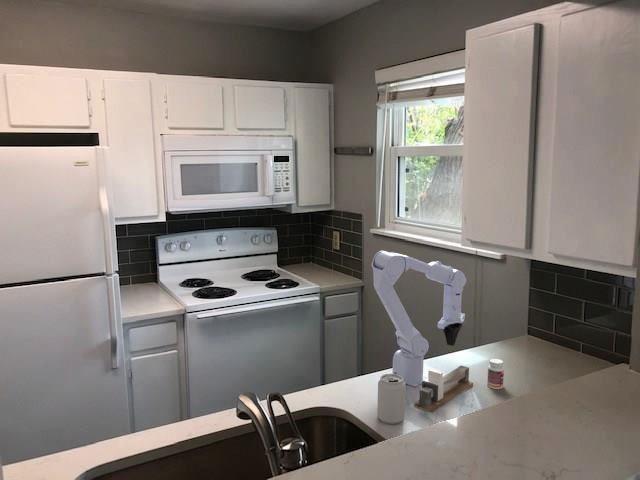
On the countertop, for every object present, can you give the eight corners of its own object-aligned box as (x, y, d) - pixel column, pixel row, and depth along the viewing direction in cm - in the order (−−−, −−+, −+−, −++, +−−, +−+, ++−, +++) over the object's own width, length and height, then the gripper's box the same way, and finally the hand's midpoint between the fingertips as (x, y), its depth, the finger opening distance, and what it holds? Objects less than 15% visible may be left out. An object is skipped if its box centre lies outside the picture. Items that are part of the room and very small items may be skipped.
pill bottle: (504, 390, 165) (505, 364, 163) (488, 388, 166) (489, 363, 164) (502, 383, 169) (503, 358, 168) (486, 382, 170) (487, 357, 169)
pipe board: (414, 405, 154) (414, 388, 153) (455, 379, 172) (456, 364, 171) (432, 412, 150) (432, 394, 149) (473, 385, 168) (473, 368, 167)
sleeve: (423, 396, 156) (424, 371, 155) (428, 392, 158) (429, 368, 157) (437, 401, 153) (438, 376, 152) (442, 397, 155) (443, 373, 154)
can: (386, 427, 141) (387, 385, 139) (372, 415, 148) (373, 374, 146) (409, 422, 144) (411, 380, 142) (395, 410, 151) (396, 370, 149)
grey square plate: (421, 397, 155) (422, 381, 155) (423, 396, 156) (423, 380, 155) (435, 402, 152) (436, 386, 151) (437, 401, 153) (438, 385, 152)
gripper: (452, 312, 166) (450, 353, 168) (473, 302, 177) (472, 341, 179) (432, 307, 171) (431, 348, 173) (454, 299, 181) (453, 337, 183)
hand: (450, 344), depth 176 cm, fingers closed
